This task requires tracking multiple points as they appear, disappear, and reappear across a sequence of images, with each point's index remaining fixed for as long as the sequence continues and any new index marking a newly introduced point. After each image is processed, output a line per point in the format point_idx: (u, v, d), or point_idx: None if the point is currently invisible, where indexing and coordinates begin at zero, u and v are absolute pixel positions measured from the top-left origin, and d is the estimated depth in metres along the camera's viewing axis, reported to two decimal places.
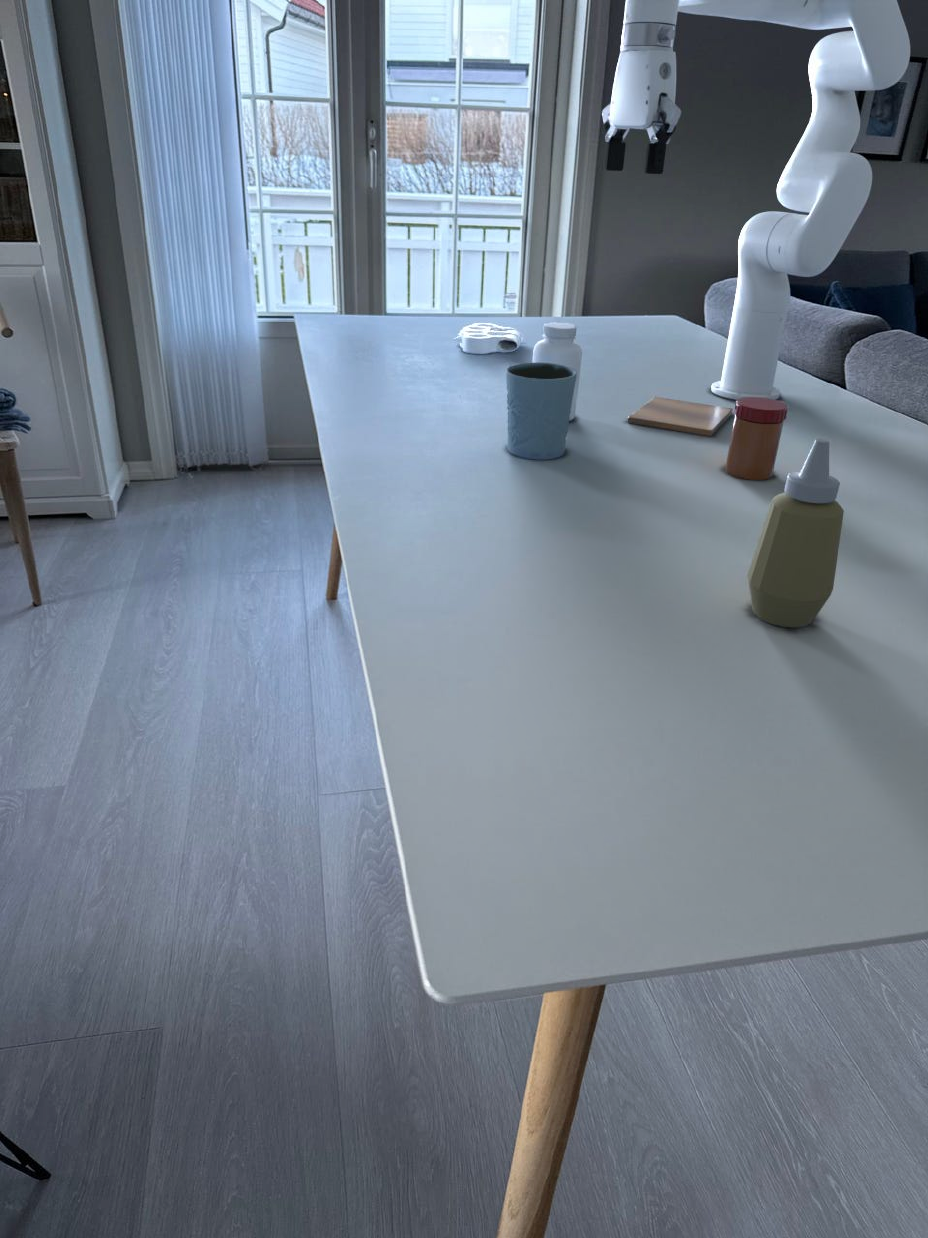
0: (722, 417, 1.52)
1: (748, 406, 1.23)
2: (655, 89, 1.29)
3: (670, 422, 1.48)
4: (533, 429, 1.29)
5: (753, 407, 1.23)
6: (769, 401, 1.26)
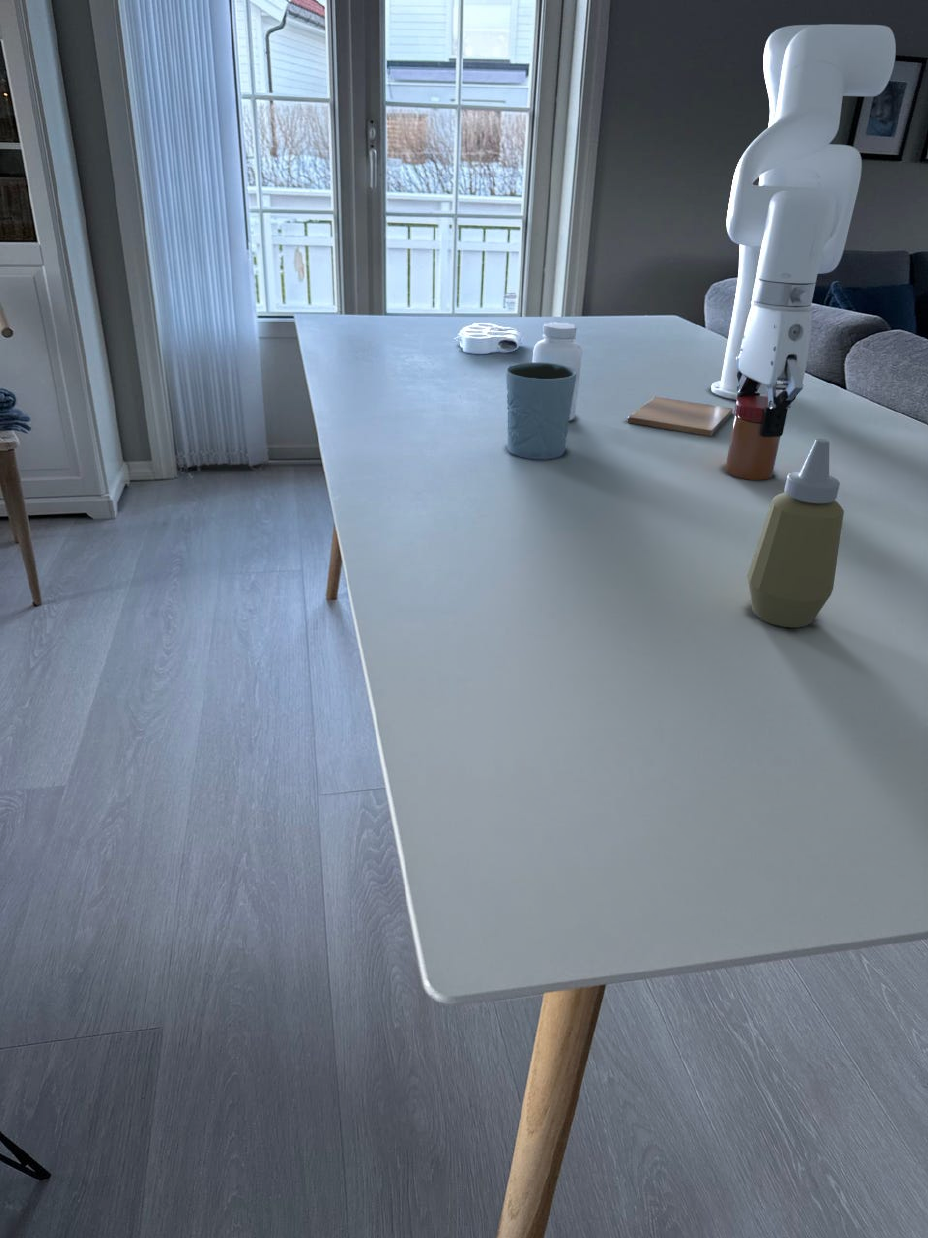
0: (722, 417, 1.52)
1: None
2: (782, 351, 1.17)
3: (670, 422, 1.48)
4: (533, 429, 1.29)
5: None
6: (748, 401, 1.25)
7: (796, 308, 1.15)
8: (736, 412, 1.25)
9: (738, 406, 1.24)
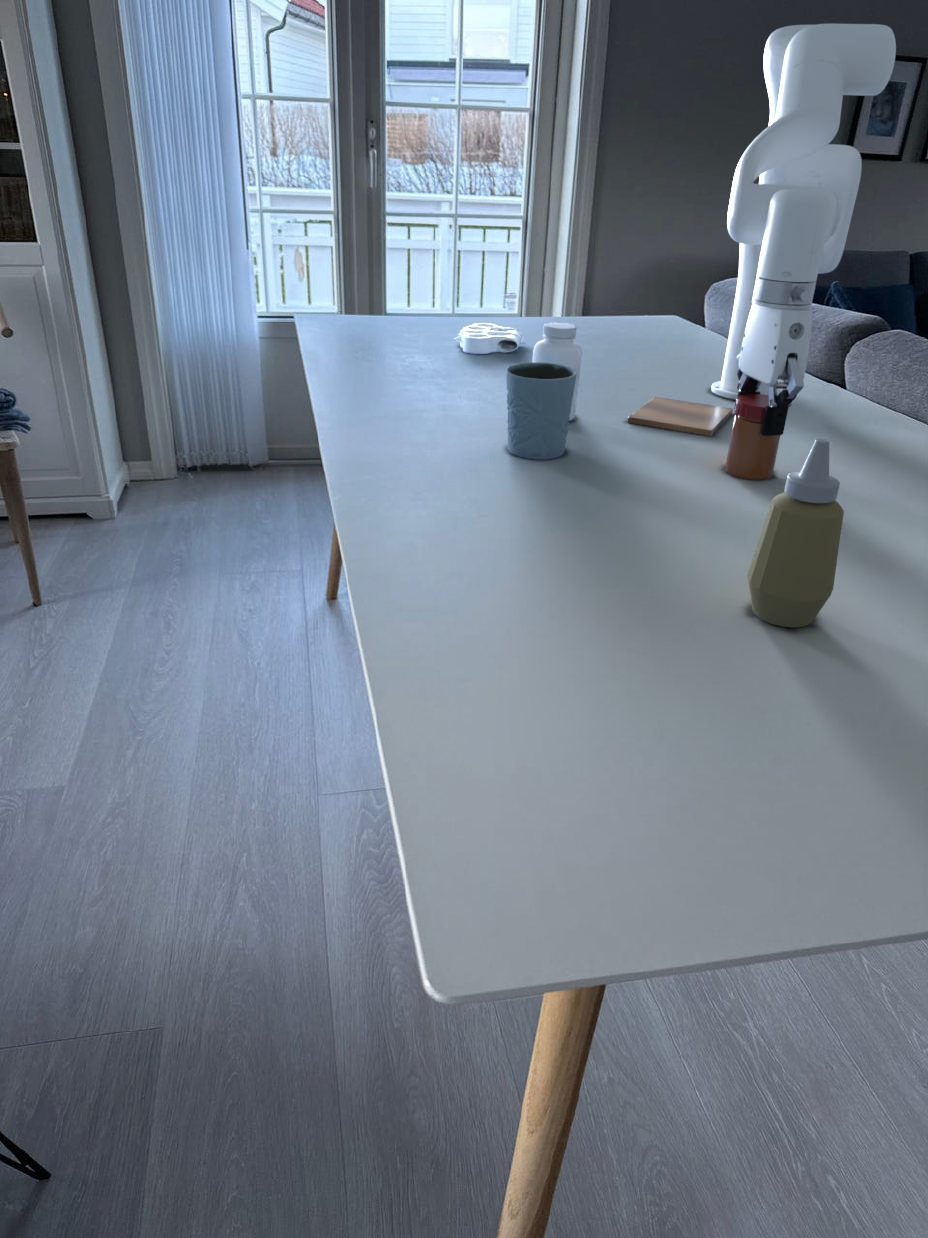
0: (722, 417, 1.52)
1: (746, 395, 1.27)
2: (782, 350, 1.17)
3: (670, 422, 1.48)
4: (533, 429, 1.29)
5: (743, 395, 1.27)
6: None
7: (797, 307, 1.15)
8: None
9: None
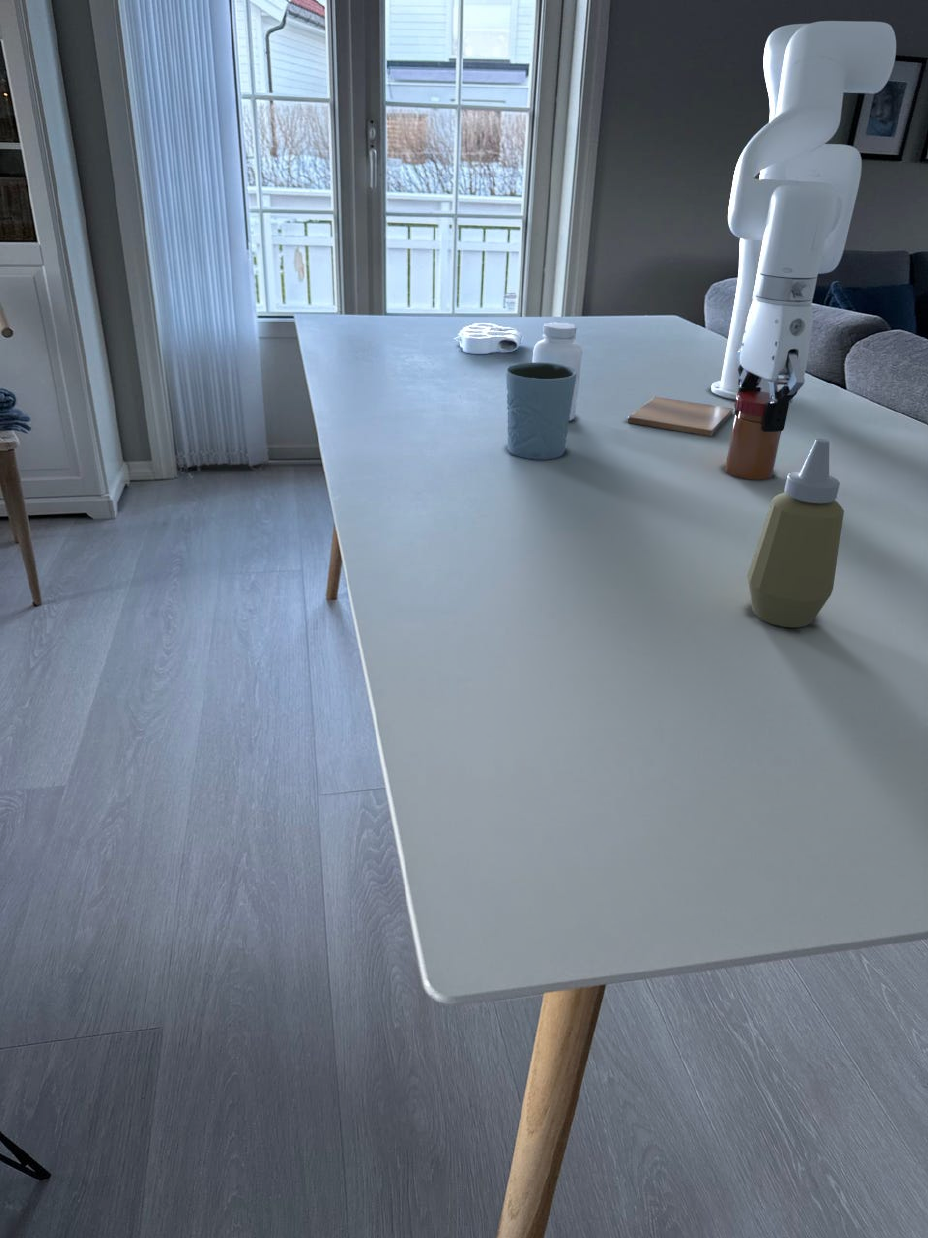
0: (722, 417, 1.52)
1: (760, 402, 1.22)
2: (783, 346, 1.17)
3: (670, 422, 1.48)
4: (533, 429, 1.29)
5: (765, 403, 1.22)
6: (762, 394, 1.26)
7: (797, 303, 1.15)
8: None
9: None
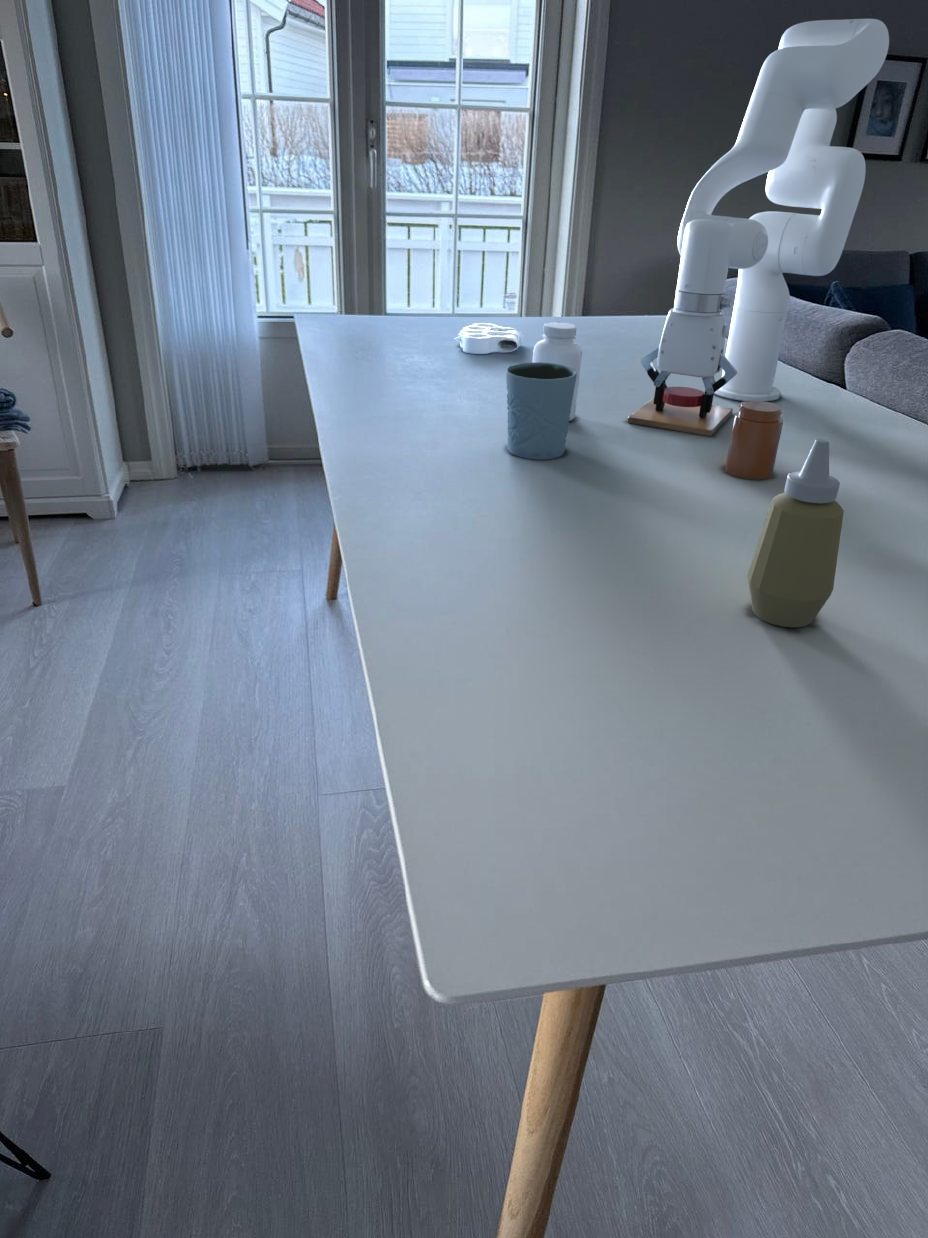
0: (722, 417, 1.52)
1: (696, 395, 1.49)
2: (719, 348, 1.45)
3: (670, 422, 1.48)
4: (533, 429, 1.29)
5: (699, 395, 1.50)
6: (676, 388, 1.53)
7: (720, 312, 1.44)
8: None
9: None
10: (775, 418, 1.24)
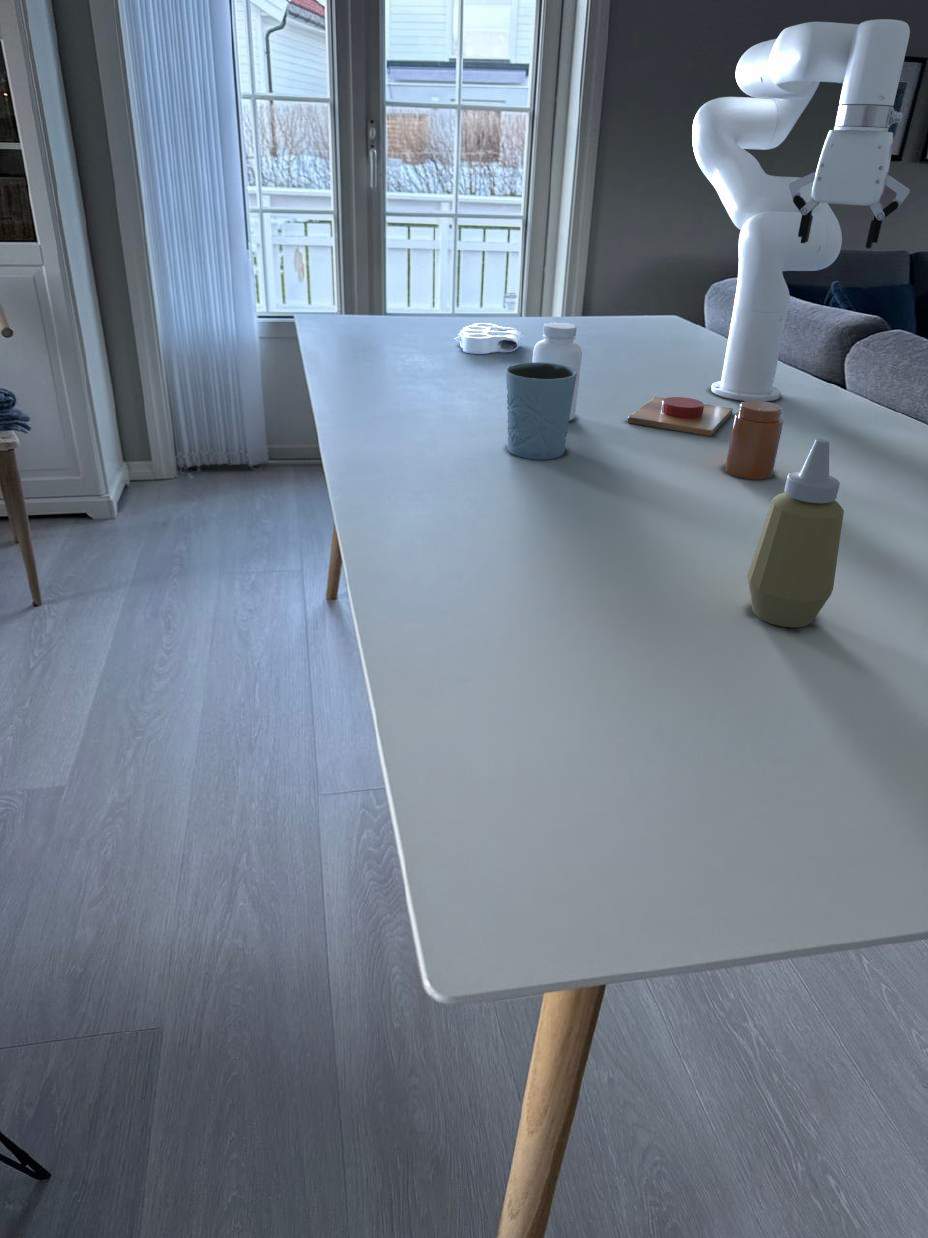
0: (722, 417, 1.52)
1: (695, 406, 1.50)
2: (886, 169, 1.33)
3: (670, 422, 1.48)
4: (533, 429, 1.29)
5: (698, 406, 1.51)
6: (675, 399, 1.54)
7: None
8: None
9: None
10: (775, 418, 1.24)
